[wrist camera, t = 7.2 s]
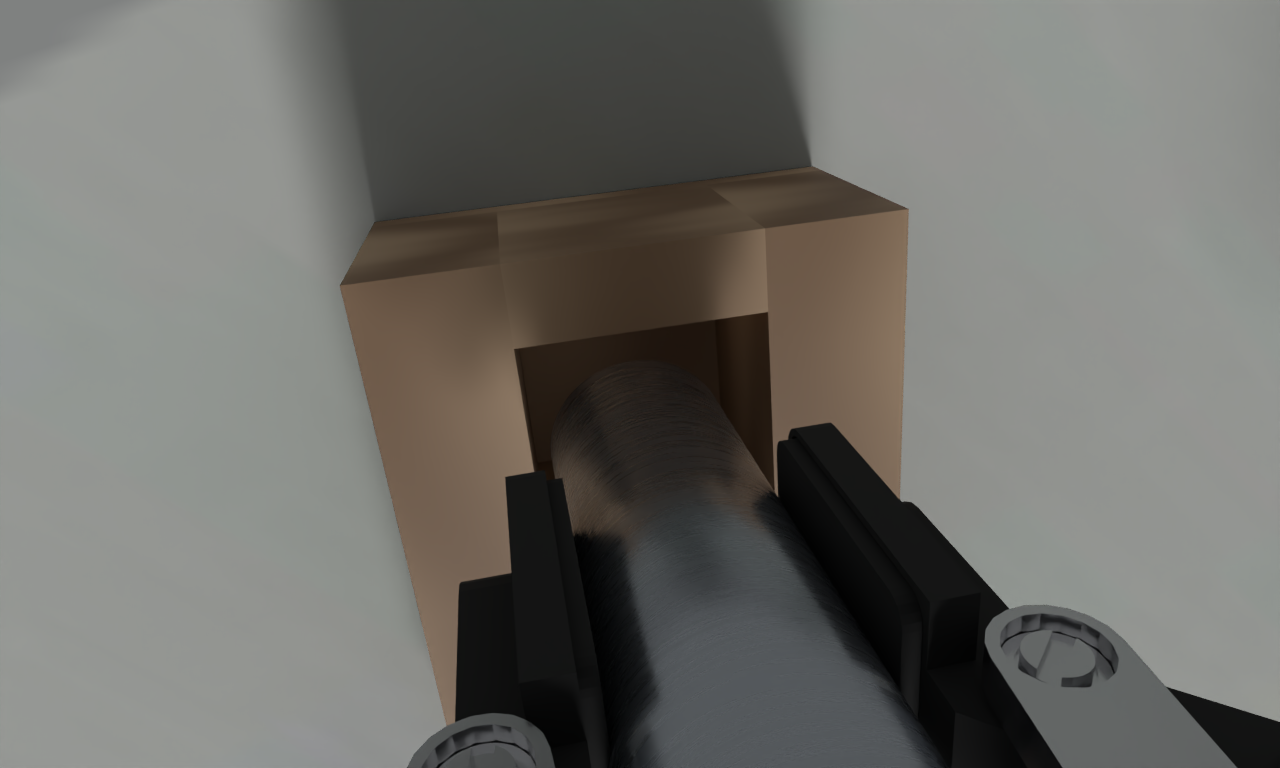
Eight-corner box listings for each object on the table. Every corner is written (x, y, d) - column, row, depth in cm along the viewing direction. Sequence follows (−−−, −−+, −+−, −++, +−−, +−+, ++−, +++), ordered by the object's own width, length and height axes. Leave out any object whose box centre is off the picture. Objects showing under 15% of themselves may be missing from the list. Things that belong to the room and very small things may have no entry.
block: (813, 166, 18) (908, 209, 14) (819, 684, 24) (889, 823, 20) (374, 222, 17) (339, 285, 13) (490, 749, 23) (491, 909, 19)
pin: (741, 320, 14) (1337, 998, 4) (751, 517, 16) (1207, 1343, 6) (510, 355, 14) (598, 1202, 4) (543, 554, 15) (665, 1519, 5)
